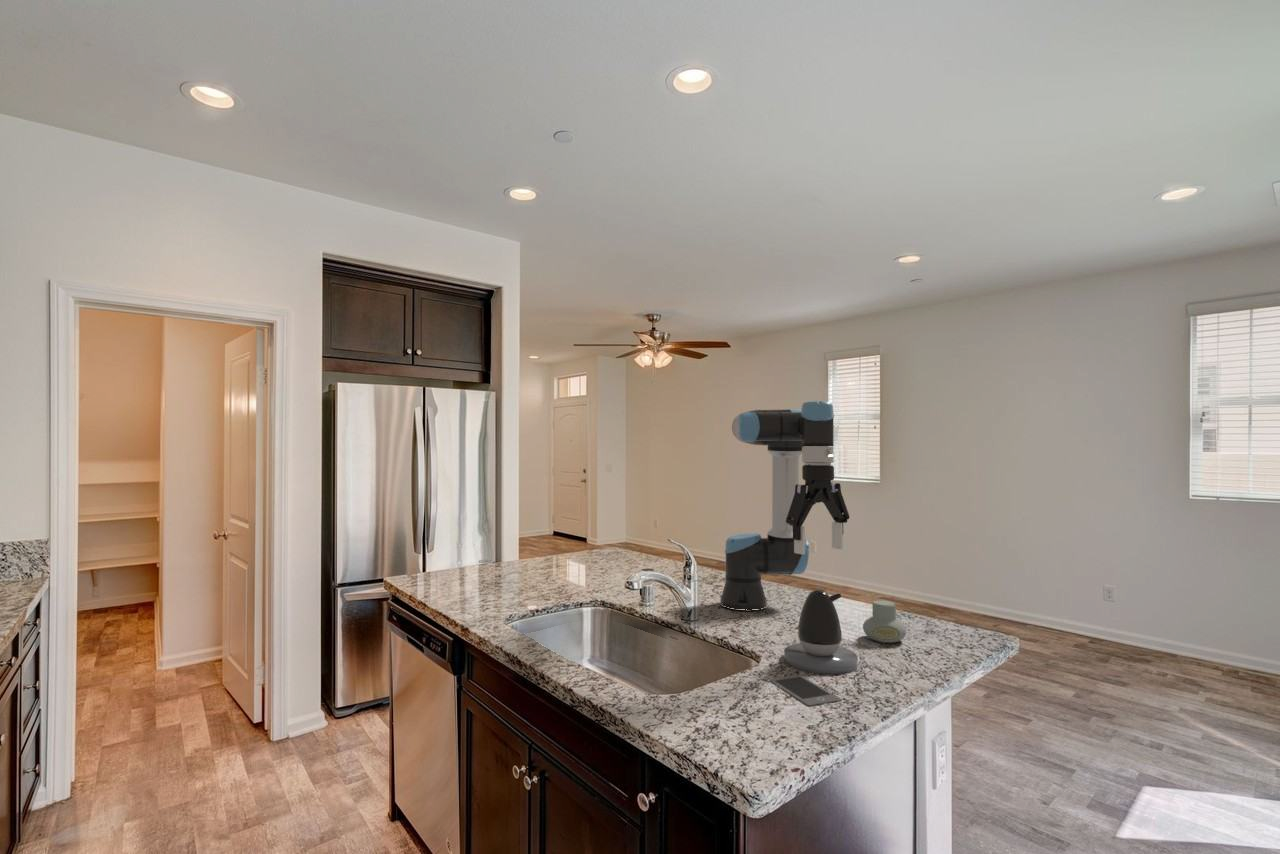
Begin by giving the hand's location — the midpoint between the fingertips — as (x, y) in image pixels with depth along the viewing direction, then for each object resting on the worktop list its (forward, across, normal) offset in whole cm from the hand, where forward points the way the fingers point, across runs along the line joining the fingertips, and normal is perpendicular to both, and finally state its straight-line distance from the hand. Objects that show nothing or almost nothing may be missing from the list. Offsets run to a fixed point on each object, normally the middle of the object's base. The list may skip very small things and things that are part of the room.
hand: (818, 551), depth 149 cm
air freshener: (+27, +28, +2) cm, 39 cm away
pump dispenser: (+25, 0, 0) cm, 25 cm away
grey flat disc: (+27, 0, 0) cm, 27 cm away
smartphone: (+27, -17, -10) cm, 34 cm away
